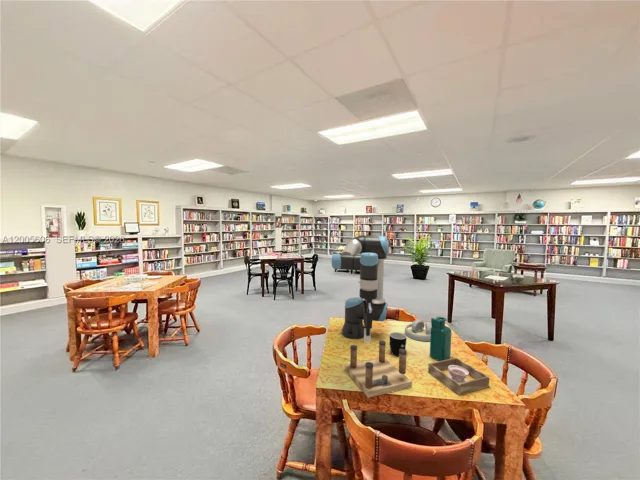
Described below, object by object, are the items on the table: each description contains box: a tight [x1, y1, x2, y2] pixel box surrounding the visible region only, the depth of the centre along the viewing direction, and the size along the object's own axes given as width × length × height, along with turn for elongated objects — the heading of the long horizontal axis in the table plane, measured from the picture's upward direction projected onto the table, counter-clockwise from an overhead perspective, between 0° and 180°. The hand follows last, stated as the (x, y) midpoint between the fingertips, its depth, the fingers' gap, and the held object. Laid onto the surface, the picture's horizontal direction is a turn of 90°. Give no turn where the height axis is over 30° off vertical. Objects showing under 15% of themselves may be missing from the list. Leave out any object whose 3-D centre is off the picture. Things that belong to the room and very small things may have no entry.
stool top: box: [344, 339, 413, 399], centre depth 120 cm, size 22×22×12 cm
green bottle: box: [429, 316, 452, 362], centre depth 138 cm, size 10×8×22 cm
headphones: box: [404, 319, 432, 342], centre depth 168 cm, size 18×8×20 cm
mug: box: [389, 331, 407, 357], centre depth 144 cm, size 12×9×10 cm
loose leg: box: [398, 348, 408, 375], centre depth 115 cm, size 3×3×10 cm
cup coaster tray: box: [427, 357, 490, 396], centre depth 120 cm, size 18×18×4 cm
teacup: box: [447, 365, 470, 383], centre depth 117 cm, size 12×12×6 cm
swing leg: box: [365, 362, 388, 388], centre depth 110 cm, size 11×3×10 cm, turn 111°
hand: (367, 341), depth 113 cm, fingers closed
